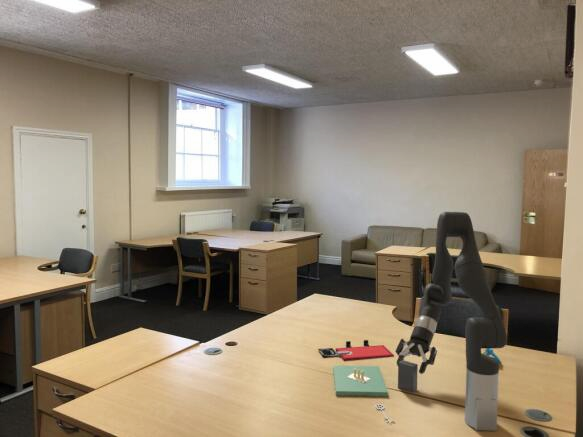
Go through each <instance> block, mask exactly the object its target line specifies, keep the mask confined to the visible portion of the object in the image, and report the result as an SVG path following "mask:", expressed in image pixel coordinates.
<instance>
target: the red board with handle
mask: <svg viewBox="0 0 583 437" xmlns="http://www.w3.org/2000/svg"><path fill="white" fill-rule="evenodd" d="M351 344H352V341H351V340H348V341H347V340H346V342H345V347H340V348H339V347H338V348H337V347H335V349H334V348H332V347H329V348H317V349H318V352H320V354H321V355H322V357H340V359H342V361H343V362H346V361H355V360H356V361H357V360H368V359H377V358H389V357H391V358H392V357H394V356H395V354H393V353H392V352H391V351H390V350H389V348H387V347H386V346H385V345H384V344H381V345H369V340H368V339H364V340H363V346H352V345H351Z"/></svg>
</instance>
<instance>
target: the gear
mask: <svg viewBox="0 0 583 437" xmlns="http://www.w3.org/2000/svg"><path fill="white" fill-rule="evenodd" d="M481 353H482V354H484V355H487V356H489V357H490V356H492V358H494V359H495V360H497V362H498V363H500V362H501V359H500V358H499V356H498V355H496V353H494V349H493V348H484V351H483V352H481Z"/></svg>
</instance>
